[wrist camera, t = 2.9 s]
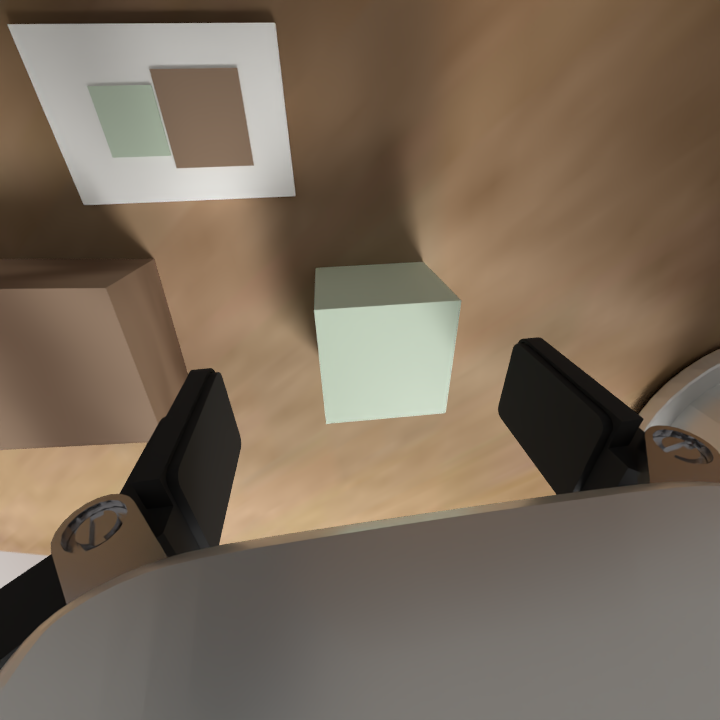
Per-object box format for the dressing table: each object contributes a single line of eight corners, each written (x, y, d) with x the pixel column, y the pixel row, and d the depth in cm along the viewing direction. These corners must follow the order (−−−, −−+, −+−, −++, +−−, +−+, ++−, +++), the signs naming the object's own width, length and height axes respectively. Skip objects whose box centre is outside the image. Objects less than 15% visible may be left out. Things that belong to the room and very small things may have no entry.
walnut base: (156, 257, 14) (105, 288, 11) (194, 388, 18) (164, 441, 15) (-22, 257, 14) (-135, 290, 10) (54, 393, 17) (-11, 450, 14)
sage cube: (422, 261, 16) (461, 300, 11) (416, 353, 18) (445, 413, 14) (315, 267, 15) (313, 310, 11) (324, 360, 18) (326, 423, 14)
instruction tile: (275, 26, 11) (274, 21, 11) (295, 195, 13) (295, 196, 13) (14, 27, 10) (4, 23, 10) (88, 204, 13) (82, 205, 13)
